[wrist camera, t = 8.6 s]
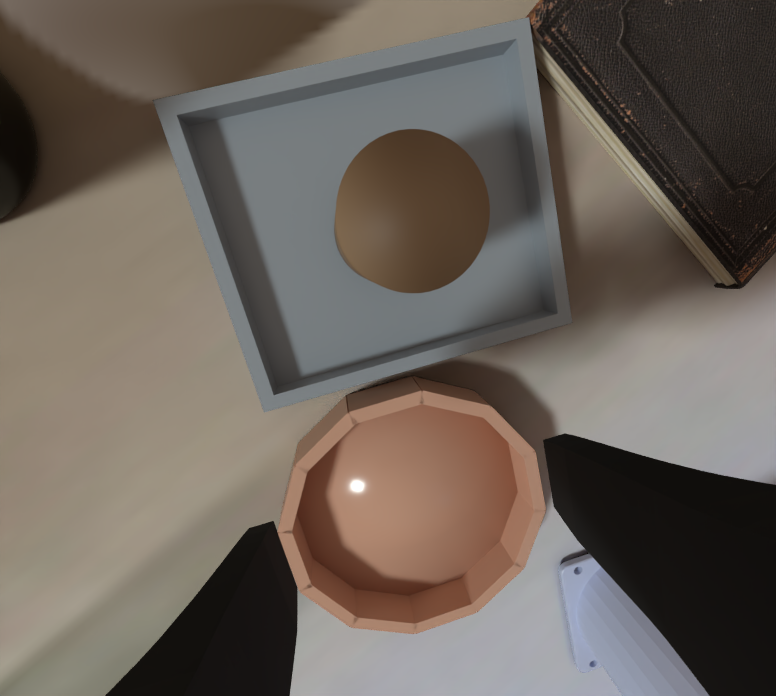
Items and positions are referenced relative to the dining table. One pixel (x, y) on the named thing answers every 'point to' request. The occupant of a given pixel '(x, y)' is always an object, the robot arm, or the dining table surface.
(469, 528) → the terracotta dish
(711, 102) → the hardcover book
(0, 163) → the supplement bottle
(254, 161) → the slate-grey tray
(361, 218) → the walnut cylinder
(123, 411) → the dining table surface
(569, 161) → the dining table surface
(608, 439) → the dining table surface
